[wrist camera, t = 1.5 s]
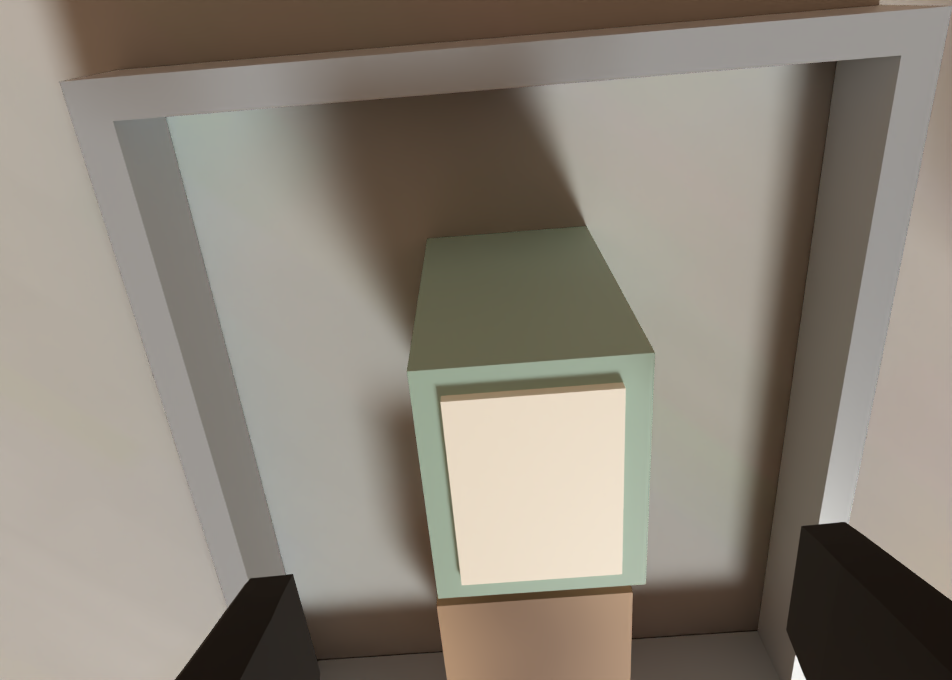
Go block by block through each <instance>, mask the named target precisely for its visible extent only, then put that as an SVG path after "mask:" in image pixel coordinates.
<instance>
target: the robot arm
mask: <svg viewBox="0 0 952 680" xmlns="http://www.w3.org/2000/svg"><path fill="white" fill-rule="evenodd" d="M786 631H787V633H788V636H789V639H790V641H791V644H792V646H793V649H794V651H795V654H796V657H797V659H798V662H799V664H800V667H801V669H802V672H803V674H804V677H805V679H806V680H952V601H951V600H950V599H949V598H947V597H946V596H944V595H943V594H942V593H940V592H939V591H938V590H936V589H935V588H934V587H932V586H931V585H930V584H928V583H927V582H926V581H924V580H923V579H922V578H920V577H919V576H918V575H916V574H915V573H914V572H912V571H911V570H909V569H908V568H907V567H905V566H904V565H903V564H901V563H900V562H899V561H897V560H896V559H895V558H893V557H892V556H891V555H889V554H888V553H887V552H885V551H884V550H883V549H881V548H880V547H879V546H877V545H876V544H875V543H873V542H872V541H871V540H869V539H868V538H867V537H865V536H864V535H863V534H861V533H860V532H858V531H857V530H856V529H854V528H853V527H851V526H850V525H849V524H847V523H846V522H838V523H827V524H817V525H806V526H801V532H800V538H799V545H798V552H797V559H796V566H795V572H794V579H793V586H792V593H791V600H790V607H789V613H788V620H787V627H786ZM175 680H320V670H319V666H318V663H317V659H316V655H315V652H314V648H313V645H312V641H311V637H310V634H309V630H308V627H307V623H306V620H305V616H304V612H303V609H302V605H301V602H300V598H299V594H298V591H297V587H296V584H295V580H294V576H293V574H290V575H279V576H269V577H258V578H250V579H249V580H248V582H247V583H246V584H245V585H244V586H243V588H242V589H241V590H240V592H239V593H238V594H237V596H236V597H235V599H234V600H233V601H232V603H231V604H230V605H229V607H228V608H227V610H226V611H225V612H224V614H223V615H222V617H221V618H220V619H219V621H218V622H217V623H216V625H215V626H214V628H213V629H212V630H211V632H210V633H209V635H208V636H207V637H206V639H205V640H204V641H203V643H202V644H201V645H200V647H199V648H198V650H197V651H196V652H195V654H194V655H193V656H192V658H191V659H190V660H189V662H188V663H187V664H186V666H185V667H184V669H183V670H182V671H181V672H180V674H179V675H178V676H177V678H176V679H175Z"/></svg>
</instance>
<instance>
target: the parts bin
mask: <svg viewBox="0 0 952 680" xmlns="http://www.w3.org/2000/svg"><path fill="white" fill-rule="evenodd" d="M951 11H952V6H917V5H875V6H864V7H852V8H840V9H828V10H817V11H805V12H793V13H781V14H769V15H758V16H746V17H734V18H722V19H711V20H699V21H687V22H675V23H664V24H652V25H640V26H628V27H616V28H605V29H593V30H581V31H569V32H558V33H546V34H534V35H522V36H511V37H499V38H487V39H475V40H463V41H452V42H440V43H428V44H416V45H405V46H393V47H381V48H369V49H357V50H346V51H334V52H322V53H310V54H299V55H287V56H275V57H263V58H252V59H240V60H228V61H216V62H204V63H193V64H181V65H169V66H157V67H146V68H134V69H122V70H114V71H109V72H104V73H100V74H95V75H90V76H85V77H80V78H75V79H70V80H65V81H60V82H59V83H60V86H61V89H62V92H63V95H64V98H65V101H66V104H67V108H68V111H69V114H70V117H71V120H72V123H73V126H74V129H75V133H76V136H77V139H78V142H79V145H80V148H81V151H82V154H83V158H84V161H85V164H86V167H87V170H88V173H89V176H90V179H91V183H92V186H93V189H94V192H95V195H96V198H97V201H98V204H99V208H100V211H101V214H102V217H103V220H104V223H105V226H106V229H107V233H108V236H109V239H110V242H111V245H112V248H113V251H114V254H115V258H116V261H117V264H118V267H119V270H120V273H121V276H122V279H123V283H124V286H125V289H126V292H127V295H128V298H129V301H130V304H131V308H132V311H133V314H134V317H135V320H136V323H137V326H138V329H139V332H140V336H141V339H142V342H143V345H144V348H145V351H146V354H147V357H148V361H149V364H150V367H151V370H152V373H153V376H154V379H155V382H156V386H157V389H158V392H159V395H160V398H161V401H162V404H163V407H164V411H165V414H166V417H167V420H168V423H169V426H170V429H171V432H172V436H173V439H174V442H175V445H176V448H177V451H178V454H179V457H180V461H181V464H182V467H183V470H184V473H185V476H186V479H187V482H188V486H189V489H190V492H191V495H192V498H193V501H194V504H195V507H196V511H197V514H198V517H199V520H200V523H201V526H202V529H203V532H204V536H205V539H206V542H207V545H208V548H209V551H210V554H211V557H212V561H213V564H214V567H215V570H216V573H217V576H218V579H219V582H220V586H221V589H222V592H223V595H224V598H225V601H226V604H227V607H229V605H230V604H231V603H232V601H233V600H234V599H235V597H236V596H237V594H238V593H239V592H240V590H241V589H242V588H243V586H244V585H245V584H246V583H247V582H248V580H249V579H250V578H258V577H269V576H279V575H286V574H285V570H284V566H283V562H282V559H281V555H280V551H279V547H278V543H277V539H276V536H275V532H274V528H273V524H272V520H271V517H270V513H269V509H268V505H267V501H266V498H265V494H264V490H263V486H262V482H261V479H260V475H259V471H258V467H257V463H256V459H255V456H254V452H253V448H252V444H251V440H250V437H249V433H248V429H247V425H246V421H245V418H244V414H243V410H242V406H241V402H240V399H239V395H238V391H237V387H236V383H235V379H234V376H233V372H232V368H231V364H230V360H229V357H228V353H227V349H226V345H225V341H224V338H223V334H222V330H221V326H220V322H219V319H218V315H217V311H216V307H215V303H214V300H213V296H212V292H211V288H210V284H209V280H208V277H207V273H206V269H205V265H204V261H203V258H202V254H201V250H200V246H199V242H198V239H197V235H196V231H195V227H194V223H193V220H192V216H191V212H190V208H189V204H188V200H187V197H186V193H185V189H184V185H183V181H182V178H181V174H180V170H179V166H178V162H177V159H176V155H175V151H174V147H173V143H172V140H171V136H170V132H169V128H168V124H167V120H166V117H170V116H182V115H194V114H206V113H218V112H230V111H242V110H254V109H265V108H277V107H289V106H301V105H313V104H325V103H337V102H349V101H361V100H373V99H385V98H397V97H409V96H421V95H433V94H445V93H457V92H469V91H481V90H493V89H505V88H517V87H529V86H541V85H553V84H565V83H577V82H589V81H601V80H613V79H625V78H637V77H649V76H661V75H673V74H685V73H697V72H709V71H721V70H733V69H745V68H757V67H769V66H781V65H793V64H805V63H817V62H829V61H837V64H836V71H835V78H834V86H833V93H832V100H831V107H830V114H829V121H828V129H827V136H826V143H825V150H824V157H823V164H822V172H821V179H820V186H819V193H818V200H817V208H816V215H815V222H814V229H813V236H812V243H811V251H810V258H809V265H808V272H807V279H806V286H805V294H804V301H803V308H802V315H801V322H800V329H799V337H798V344H797V351H796V358H795V365H794V372H793V380H792V387H791V394H790V401H789V408H788V416H787V423H786V430H785V437H784V444H783V451H782V459H781V466H780V473H779V480H778V487H777V494H776V502H775V509H774V516H773V523H772V530H771V537H770V545H769V552H768V559H767V566H766V573H765V581H764V588H763V595H762V602H761V609H760V616H759V624H758V631H750V632H735V633H720V634H705V635H690V636H675V637H661V638H646V639H632V640H631V676H630V680H806V679H805V677H804V674H803V672H802V669H801V667H800V664H799V662H798V659H797V657H796V654H795V651H794V649H793V646H792V644H791V641H790V639H789V636H788V633H787V631H786V627H787V620H788V613H789V607H790V600H791V593H792V586H793V579H794V572H795V566H796V559H797V552H798V545H799V538H800V532H801V526H806V525H817V524H827V523H838V522H846V523H847V524H849V520H850V515H851V510H852V505H853V500H854V495H855V490H856V485H857V480H858V475H859V470H860V465H861V460H862V455H863V450H864V445H865V440H866V435H867V430H868V425H869V420H870V415H871V410H872V405H873V400H874V395H875V390H876V385H877V380H878V375H879V370H880V365H881V360H882V355H883V350H884V345H885V340H886V335H887V330H888V325H889V320H890V315H891V310H892V305H893V300H894V295H895V290H896V285H897V280H898V275H899V270H900V265H901V260H902V255H903V250H904V245H905V240H906V236H907V231H908V226H909V221H910V216H911V211H912V206H913V201H914V196H915V191H916V186H917V181H918V176H919V171H920V166H921V161H922V156H923V151H924V146H925V141H926V136H927V131H928V126H929V121H930V116H931V111H932V106H933V101H934V96H935V91H936V86H937V81H938V76H939V71H940V66H941V61H942V56H943V51H944V46H945V41H946V36H947V31H948V26H949V21H950V16H951ZM317 663H318V666H319V670H320V680H447V676H446V669H445V662H444V655H443V652H438V653H423V654H408V655H393V656H378V657H364V658H349V659H334V660H319V661H317Z"/></svg>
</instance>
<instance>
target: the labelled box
mask: <svg viewBox="0 0 952 680" xmlns="http://www.w3.org/2000/svg"><path fill="white" fill-rule="evenodd" d="M654 364H655V352H654V350H653V348H652V346H651V345H650V343H649V341H648V339H647V337H646V335H645V333H644V332H643V330H642V328H641V326H640V324H639V322H638V321H637V319H636V317H635V315H634V313H633V311H632V310H631V308H630V306H629V304H628V302H627V300H626V298H625V297H624V295H623V293H622V291H621V289H620V287H619V286H618V284H617V282H616V280H615V278H614V276H613V274H612V273H611V271H610V269H609V267H608V265H607V263H606V262H605V260H604V258H603V256H602V254H601V252H600V250H599V249H598V247H597V245H596V243H595V241H594V239H593V238H592V236H591V234H590V232H589V230H588V228H587V226H580V227H568V228H555V229H542V230H530V231H517V232H505V233H492V234H479V235H467V236H454V237H442V238H429V239H427V243H426V250H425V256H424V263H423V269H422V276H421V282H420V289H419V295H418V302H417V309H416V315H415V322H414V328H413V335H412V341H411V348H410V354H409V361H408V367H407V376H408V383H409V391H410V398H411V405H412V413H413V420H414V427H415V434H416V442H417V449H418V456H419V463H420V471H421V478H422V485H423V493H424V500H425V507H426V514H427V522H428V529H429V536H430V543H431V551H432V558H433V565H434V572H435V580H436V587H437V594H438V599H441V598H455V597H470V596H484V595H498V594H513V593H527V592H542V591H556V590H571V589H585V588H599V587H614V586H628V585H643V584H646V567H647V542H648V517H649V491H650V466H651V440H652V415H653V390H654Z"/></svg>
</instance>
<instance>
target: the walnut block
mask: <svg viewBox="0 0 952 680" xmlns="http://www.w3.org/2000/svg"><path fill="white" fill-rule="evenodd" d="M632 603H633V592H632V588H631V585H628V586H614V587H599V588H585V589H571V590H556V591H542V592H527V593H513V594H498V595H484V596H470V597H455V598H441V599H438V594H437V612H438V619H439V627H440V634H441V641H442V648H443V655H444V662H445V669H446V676H447V680H630V676H631V640H632Z"/></svg>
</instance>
